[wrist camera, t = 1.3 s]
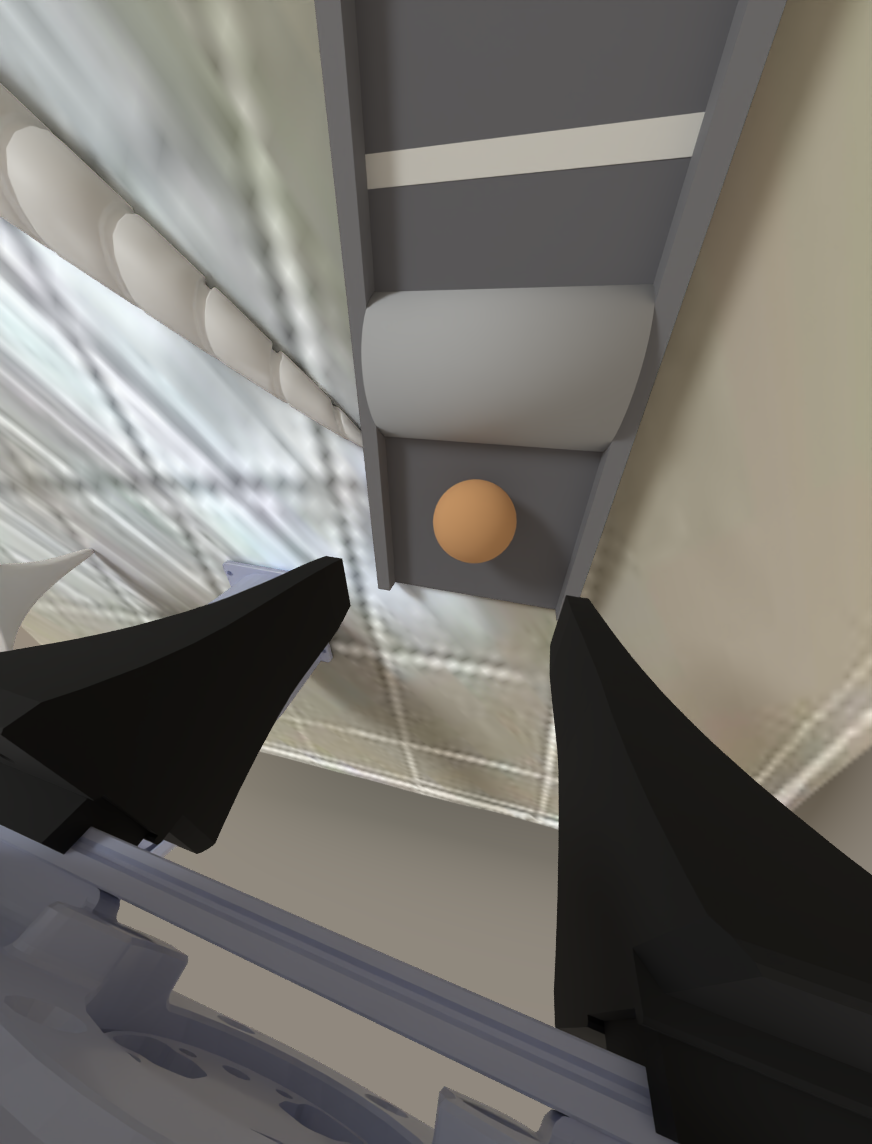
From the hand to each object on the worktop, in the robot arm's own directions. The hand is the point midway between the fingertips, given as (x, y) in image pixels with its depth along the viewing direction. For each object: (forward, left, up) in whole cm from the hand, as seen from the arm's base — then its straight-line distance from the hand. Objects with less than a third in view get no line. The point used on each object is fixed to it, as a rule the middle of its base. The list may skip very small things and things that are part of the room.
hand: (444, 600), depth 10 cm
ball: (0, 0, -8) cm, 8 cm away
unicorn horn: (+10, +16, -9) cm, 21 cm away
